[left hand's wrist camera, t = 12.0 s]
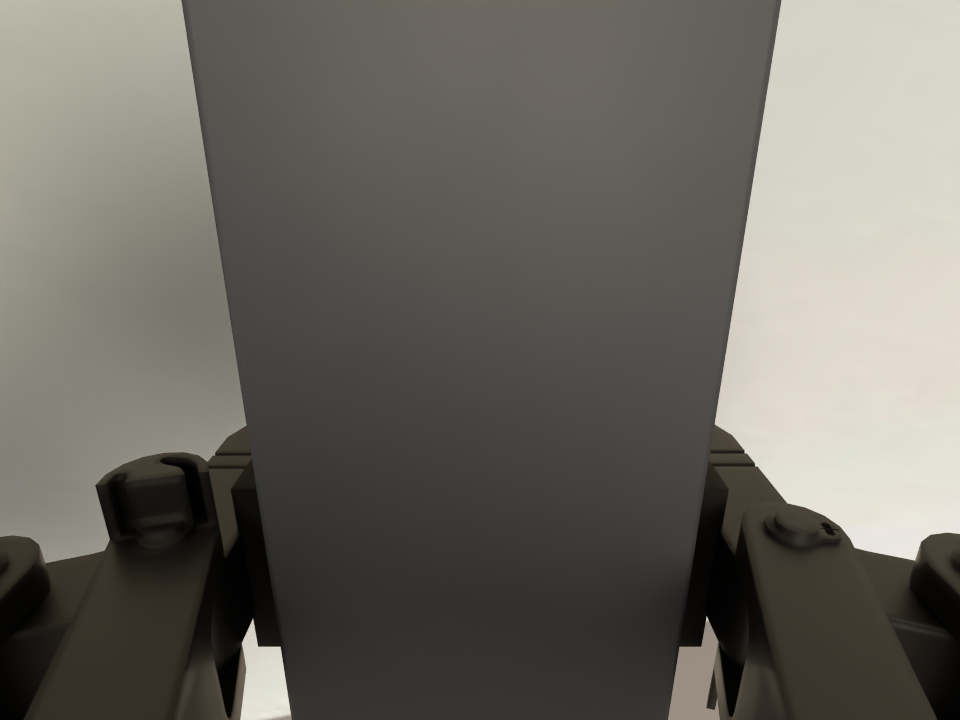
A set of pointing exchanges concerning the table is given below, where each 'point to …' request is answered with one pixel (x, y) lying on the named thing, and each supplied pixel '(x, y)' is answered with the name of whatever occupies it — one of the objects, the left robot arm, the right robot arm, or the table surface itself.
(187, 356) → the table surface
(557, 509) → the beam
